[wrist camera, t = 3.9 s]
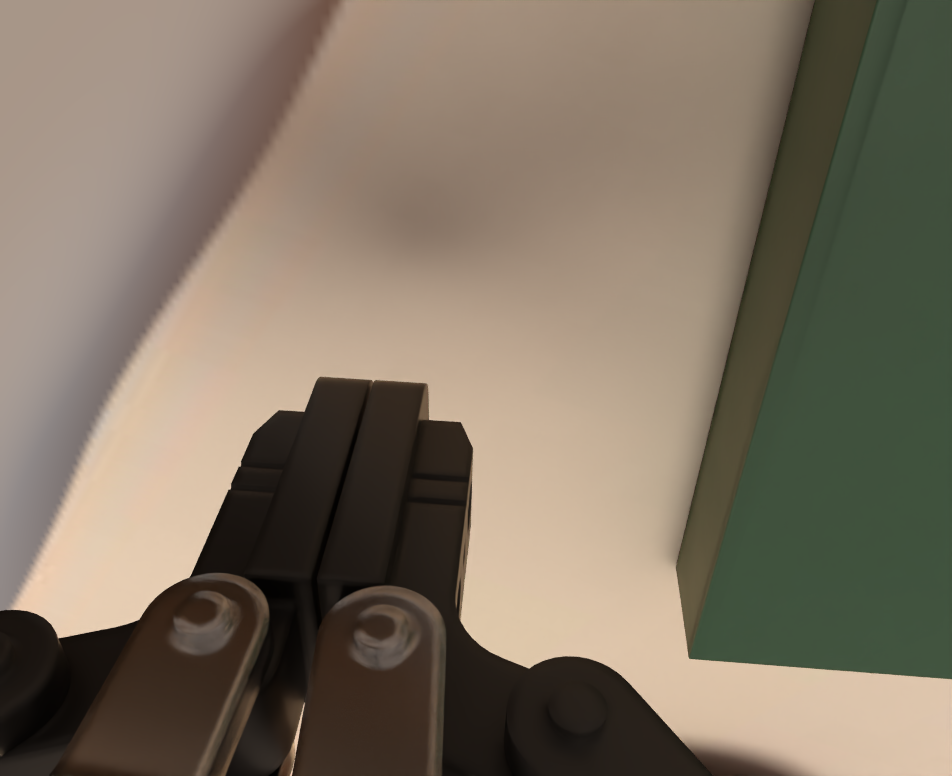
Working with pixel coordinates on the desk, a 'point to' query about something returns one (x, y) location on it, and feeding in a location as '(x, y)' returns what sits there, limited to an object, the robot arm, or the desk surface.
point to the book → (840, 372)
